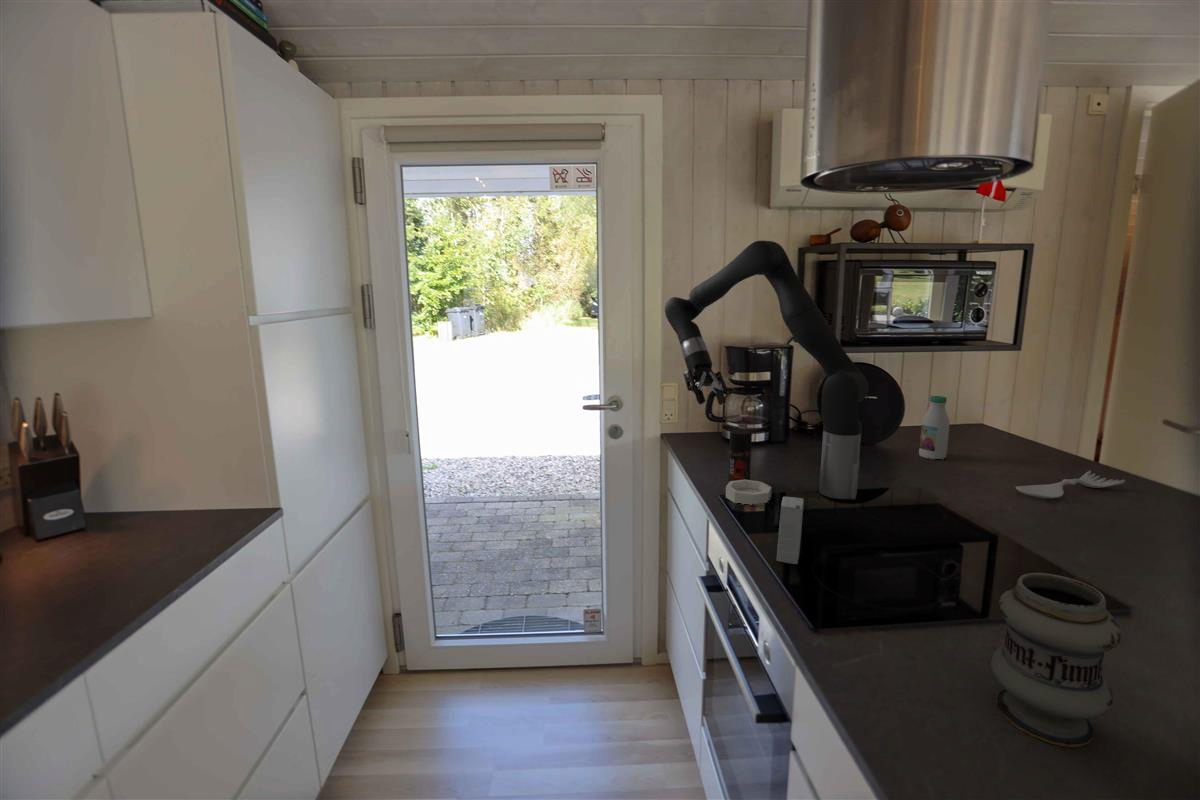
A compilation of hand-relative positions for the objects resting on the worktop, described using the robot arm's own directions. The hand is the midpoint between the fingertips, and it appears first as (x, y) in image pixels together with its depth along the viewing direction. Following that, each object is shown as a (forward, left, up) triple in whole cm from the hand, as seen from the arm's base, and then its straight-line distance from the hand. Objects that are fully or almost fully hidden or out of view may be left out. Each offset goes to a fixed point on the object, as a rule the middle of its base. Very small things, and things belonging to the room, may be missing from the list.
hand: (712, 403), depth 167 cm
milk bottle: (-61, -47, -22) cm, 80 cm away
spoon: (-91, -25, -22) cm, 97 cm away
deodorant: (-10, +5, -22) cm, 24 cm away
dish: (-15, +16, -21) cm, 31 cm away
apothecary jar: (-66, +79, -22) cm, 105 cm away
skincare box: (-30, +47, -22) cm, 60 cm away
